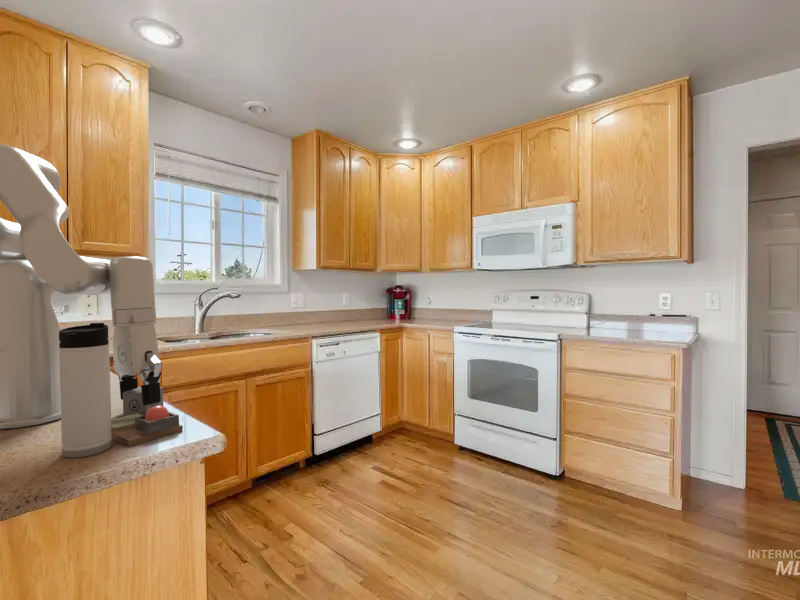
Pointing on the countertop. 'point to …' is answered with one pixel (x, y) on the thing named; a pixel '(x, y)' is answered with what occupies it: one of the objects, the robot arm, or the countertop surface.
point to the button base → (143, 428)
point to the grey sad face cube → (137, 402)
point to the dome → (156, 413)
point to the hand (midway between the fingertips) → (140, 400)
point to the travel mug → (85, 390)
